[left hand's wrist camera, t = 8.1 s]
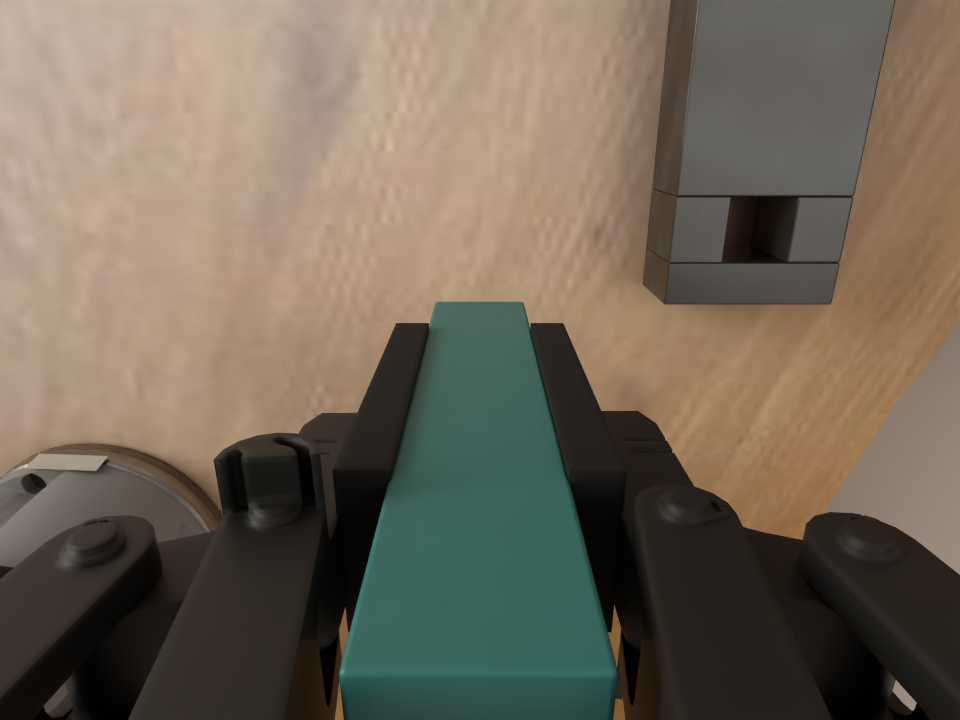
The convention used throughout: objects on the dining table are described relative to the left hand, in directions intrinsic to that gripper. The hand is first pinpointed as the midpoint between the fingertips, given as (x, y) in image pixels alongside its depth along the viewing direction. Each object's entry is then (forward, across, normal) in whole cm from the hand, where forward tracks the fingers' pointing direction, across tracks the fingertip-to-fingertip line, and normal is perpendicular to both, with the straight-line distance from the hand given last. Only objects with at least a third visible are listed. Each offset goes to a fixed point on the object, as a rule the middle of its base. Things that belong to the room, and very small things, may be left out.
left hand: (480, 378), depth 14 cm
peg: (+3, 0, 0) cm, 3 cm away
